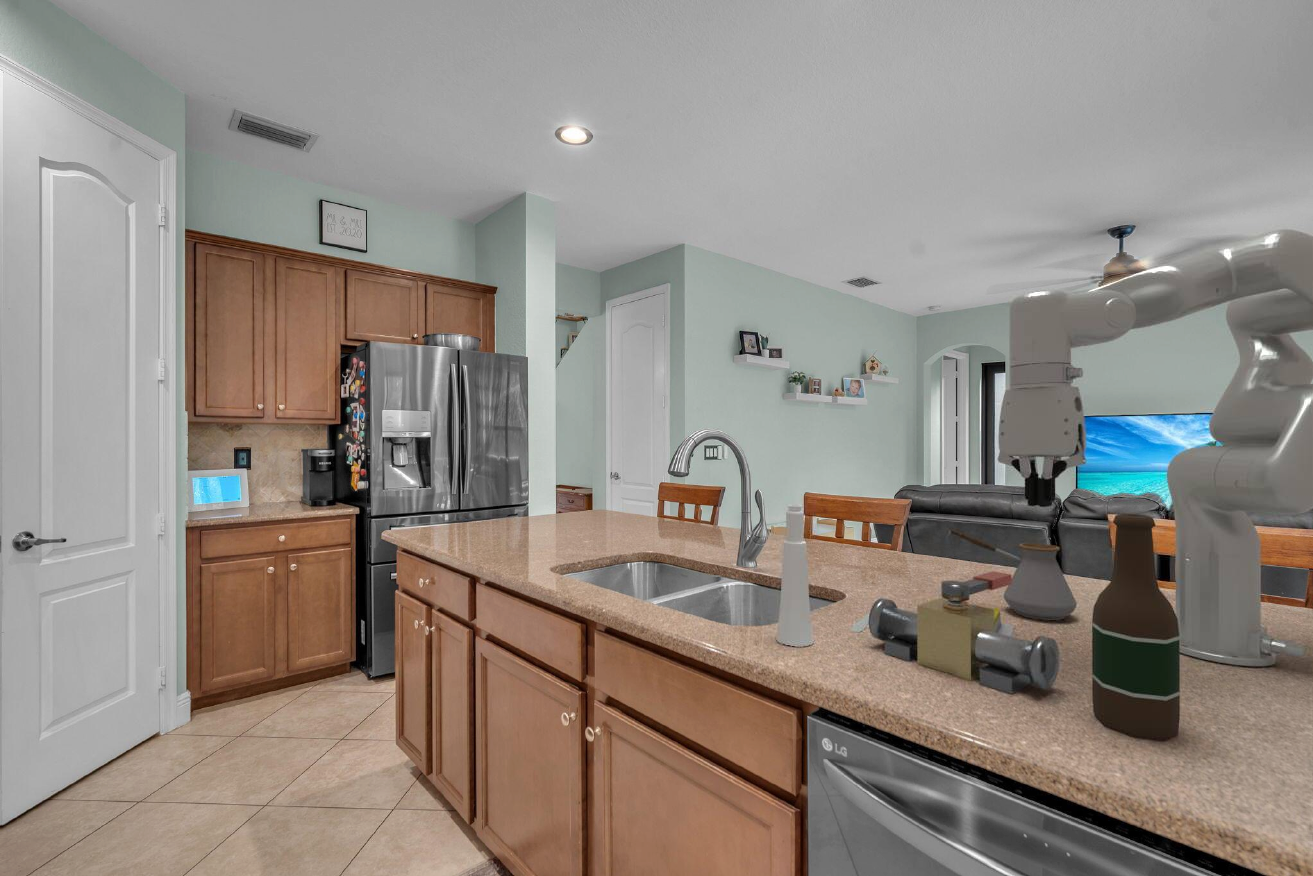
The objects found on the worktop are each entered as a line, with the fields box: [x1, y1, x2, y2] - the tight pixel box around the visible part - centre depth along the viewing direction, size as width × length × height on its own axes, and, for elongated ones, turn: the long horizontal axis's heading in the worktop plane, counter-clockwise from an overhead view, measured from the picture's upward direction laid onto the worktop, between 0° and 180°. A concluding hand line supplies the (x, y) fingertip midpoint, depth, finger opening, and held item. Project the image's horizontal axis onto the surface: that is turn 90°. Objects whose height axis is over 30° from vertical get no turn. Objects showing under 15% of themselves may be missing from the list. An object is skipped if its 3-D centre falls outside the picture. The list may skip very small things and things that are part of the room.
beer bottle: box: [1091, 513, 1181, 742], centre depth 68 cm, size 8×8×24 cm
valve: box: [868, 597, 1060, 695], centre depth 85 cm, size 24×7×10 cm, turn 37°
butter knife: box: [850, 612, 870, 633], centre depth 112 cm, size 1×27×3 cm
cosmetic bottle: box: [775, 504, 815, 648], centre depth 96 cm, size 6×6×22 cm
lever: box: [940, 571, 1012, 602], centre depth 89 cm, size 4×16×2 cm, turn 127°
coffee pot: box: [946, 528, 1077, 621], centre depth 113 cm, size 21×12×15 cm, turn 61°
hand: (1039, 505), depth 86 cm, fingers closed
